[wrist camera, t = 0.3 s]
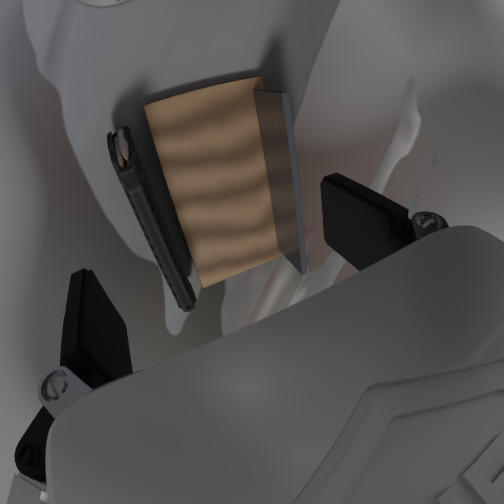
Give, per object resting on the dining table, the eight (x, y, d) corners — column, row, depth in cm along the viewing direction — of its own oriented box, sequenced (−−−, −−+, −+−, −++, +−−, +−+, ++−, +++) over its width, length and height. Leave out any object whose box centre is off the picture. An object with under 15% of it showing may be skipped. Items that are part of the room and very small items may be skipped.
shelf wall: (252, 90, 40) (281, 93, 33) (258, 89, 40) (288, 92, 33) (278, 248, 58) (301, 274, 51) (282, 246, 58) (306, 272, 51)
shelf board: (143, 105, 36) (143, 105, 35) (258, 76, 40) (262, 76, 39) (201, 283, 57) (203, 288, 55) (284, 249, 61) (288, 253, 60)
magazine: (206, 320, 50) (145, 185, 26) (189, 328, 49) (113, 199, 25) (177, 249, 59) (126, 119, 35) (162, 256, 59) (105, 128, 35)
